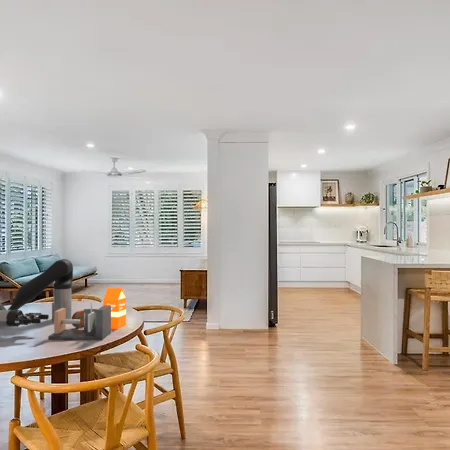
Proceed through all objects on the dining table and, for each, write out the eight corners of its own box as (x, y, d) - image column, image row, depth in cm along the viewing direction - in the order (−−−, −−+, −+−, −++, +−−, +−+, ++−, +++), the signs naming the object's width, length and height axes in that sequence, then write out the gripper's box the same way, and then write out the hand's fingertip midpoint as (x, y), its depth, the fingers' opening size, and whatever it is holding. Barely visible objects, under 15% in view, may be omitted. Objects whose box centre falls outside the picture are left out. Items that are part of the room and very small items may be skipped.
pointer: (87, 332, 180) (87, 303, 180) (92, 328, 186) (92, 301, 186) (89, 332, 180) (90, 303, 180) (94, 328, 186) (94, 301, 186)
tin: (74, 329, 196) (74, 312, 196) (70, 328, 198) (70, 312, 198) (98, 323, 209) (98, 307, 209) (94, 322, 210) (94, 307, 211)
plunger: (54, 333, 179) (54, 311, 179) (62, 328, 187) (62, 308, 187) (75, 333, 179) (75, 311, 179) (82, 329, 187) (82, 308, 187)
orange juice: (117, 329, 197) (118, 289, 197) (102, 327, 199) (102, 288, 199) (126, 325, 204) (126, 287, 204) (111, 324, 207) (111, 286, 207)
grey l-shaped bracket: (48, 339, 178) (48, 309, 179) (60, 332, 190) (60, 304, 191) (102, 340, 178) (102, 310, 178) (111, 332, 190) (111, 305, 190)
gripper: (17, 322, 191) (50, 323, 191) (0, 329, 176) (36, 331, 177) (17, 307, 191) (51, 308, 191) (1, 313, 177) (37, 314, 177)
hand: (44, 319), depth 184 cm, fingers open, 8 cm apart
